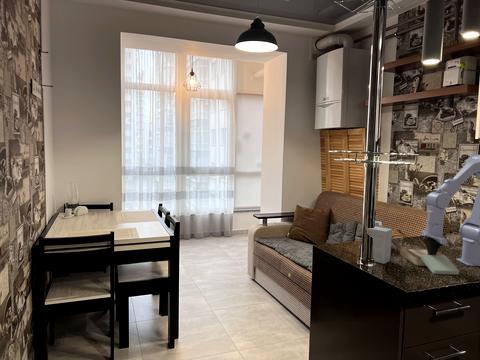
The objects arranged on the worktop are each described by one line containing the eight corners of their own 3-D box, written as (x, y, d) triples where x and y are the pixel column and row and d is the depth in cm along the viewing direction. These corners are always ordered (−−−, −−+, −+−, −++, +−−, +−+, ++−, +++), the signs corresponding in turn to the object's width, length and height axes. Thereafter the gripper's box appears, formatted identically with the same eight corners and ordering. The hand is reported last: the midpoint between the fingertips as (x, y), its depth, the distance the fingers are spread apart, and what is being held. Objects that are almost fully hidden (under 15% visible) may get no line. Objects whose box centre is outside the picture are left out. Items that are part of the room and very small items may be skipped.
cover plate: (444, 258, 141) (445, 255, 140) (458, 274, 131) (459, 271, 131) (420, 257, 141) (421, 254, 140) (433, 273, 131) (434, 270, 131)
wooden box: (430, 255, 154) (431, 247, 154) (449, 266, 140) (450, 258, 140) (400, 254, 154) (401, 246, 154) (416, 265, 140) (417, 256, 140)
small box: (390, 261, 144) (392, 229, 143) (383, 264, 140) (386, 231, 138) (370, 256, 150) (373, 225, 149) (363, 259, 145) (366, 227, 144)
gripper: (415, 218, 147) (412, 251, 148) (434, 226, 133) (431, 262, 134) (432, 219, 147) (429, 252, 148) (453, 227, 133) (450, 263, 134)
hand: (431, 257), depth 141 cm, fingers closed
